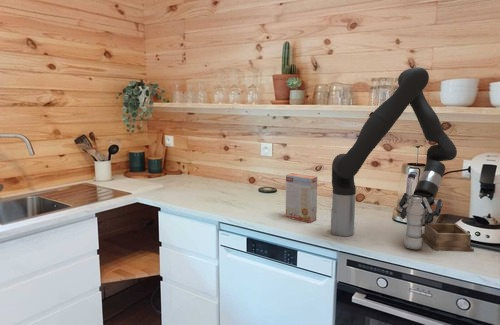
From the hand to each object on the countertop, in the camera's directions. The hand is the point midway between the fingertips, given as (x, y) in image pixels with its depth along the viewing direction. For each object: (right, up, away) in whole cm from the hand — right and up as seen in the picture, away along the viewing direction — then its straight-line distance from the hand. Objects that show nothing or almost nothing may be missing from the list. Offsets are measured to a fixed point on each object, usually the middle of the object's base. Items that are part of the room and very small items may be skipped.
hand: (413, 220), depth 132 cm
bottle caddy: (+15, -10, +7) cm, 19 cm away
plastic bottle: (+1, -11, +2) cm, 11 cm away
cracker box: (-36, -5, +38) cm, 53 cm away
